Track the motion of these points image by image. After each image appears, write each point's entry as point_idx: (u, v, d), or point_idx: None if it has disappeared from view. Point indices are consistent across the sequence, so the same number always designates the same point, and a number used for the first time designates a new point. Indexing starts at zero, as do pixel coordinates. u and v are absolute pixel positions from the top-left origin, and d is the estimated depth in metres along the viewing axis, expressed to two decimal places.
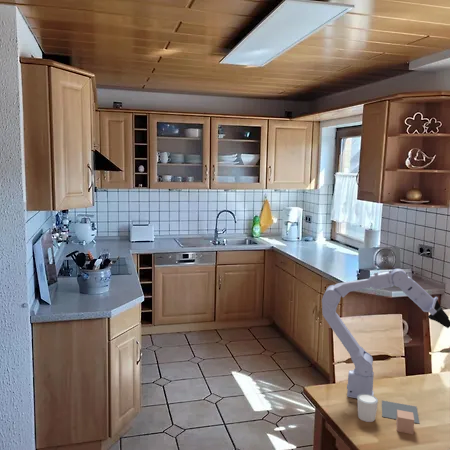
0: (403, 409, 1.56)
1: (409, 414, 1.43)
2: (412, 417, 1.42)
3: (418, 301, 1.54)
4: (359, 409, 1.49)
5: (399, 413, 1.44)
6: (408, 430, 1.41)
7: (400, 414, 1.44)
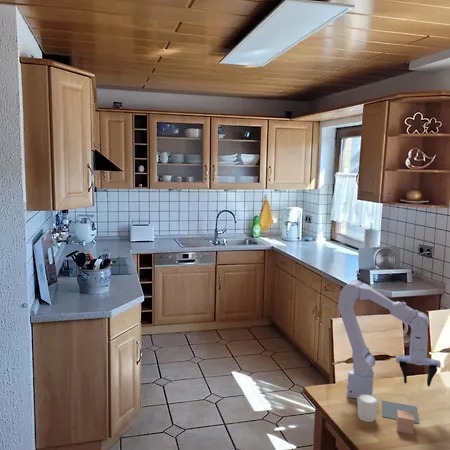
0: (403, 409, 1.56)
1: (409, 414, 1.43)
2: (412, 417, 1.42)
3: None
4: (359, 409, 1.49)
5: (399, 413, 1.44)
6: (408, 430, 1.41)
7: (400, 414, 1.44)
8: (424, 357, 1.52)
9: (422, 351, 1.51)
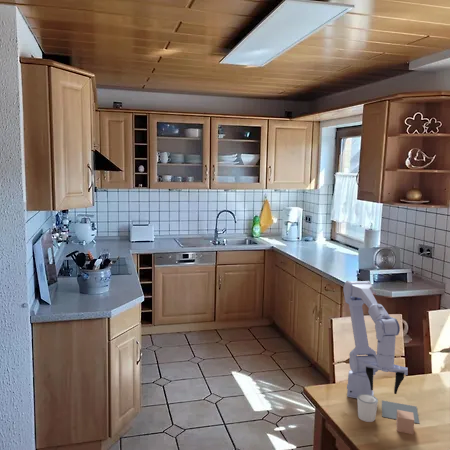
0: (403, 409, 1.56)
1: (409, 414, 1.43)
2: (412, 417, 1.42)
3: None
4: (359, 409, 1.49)
5: (399, 413, 1.44)
6: (408, 430, 1.41)
7: (400, 414, 1.44)
8: (391, 364, 1.46)
9: (388, 357, 1.46)
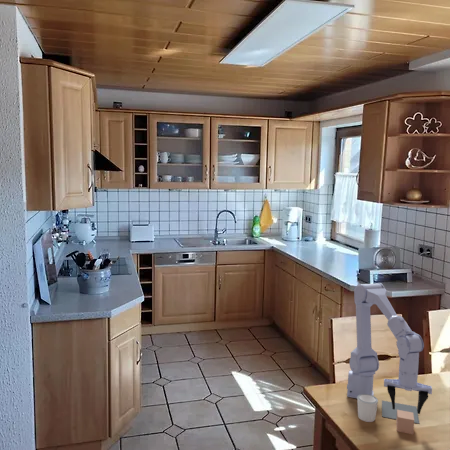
0: (403, 409, 1.56)
1: (409, 414, 1.43)
2: (412, 417, 1.42)
3: None
4: (359, 409, 1.49)
5: (399, 413, 1.44)
6: (408, 430, 1.41)
7: (400, 414, 1.44)
8: (414, 382, 1.39)
9: (412, 376, 1.39)
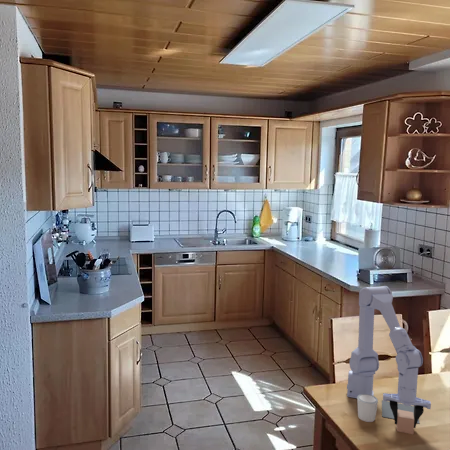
0: (403, 409, 1.56)
1: (409, 414, 1.43)
2: (412, 417, 1.42)
3: None
4: (359, 409, 1.49)
5: (399, 413, 1.44)
6: (408, 430, 1.41)
7: (400, 413, 1.44)
8: (413, 397, 1.40)
9: (411, 391, 1.39)
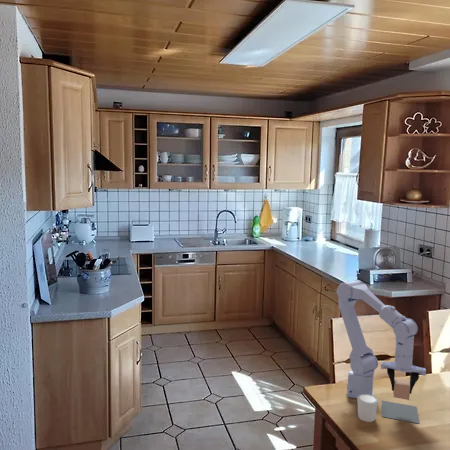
0: (403, 409, 1.56)
1: (405, 381, 1.52)
2: (408, 384, 1.50)
3: None
4: (359, 409, 1.49)
5: (396, 380, 1.53)
6: (404, 396, 1.50)
7: (396, 381, 1.52)
8: (409, 364, 1.49)
9: (407, 358, 1.48)
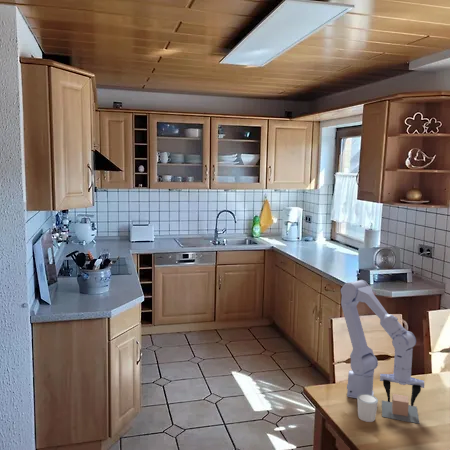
0: None
1: (404, 397, 1.54)
2: (407, 400, 1.52)
3: None
4: (359, 409, 1.49)
5: (394, 397, 1.54)
6: (403, 412, 1.51)
7: (395, 397, 1.54)
8: (408, 377, 1.50)
9: (406, 371, 1.50)
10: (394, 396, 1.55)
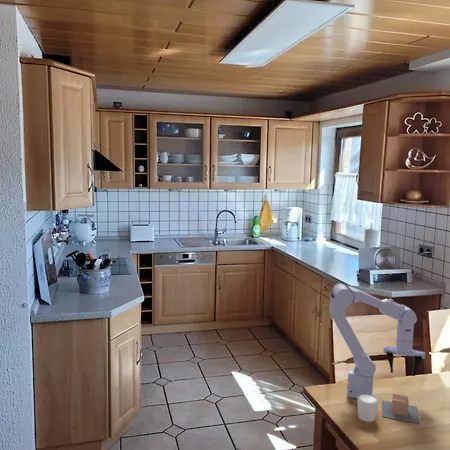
0: None
1: (404, 397, 1.54)
2: (407, 400, 1.52)
3: None
4: (359, 409, 1.49)
5: (394, 397, 1.54)
6: (403, 412, 1.51)
7: (395, 397, 1.54)
8: (409, 348, 1.61)
9: (408, 343, 1.60)
10: (394, 396, 1.55)
